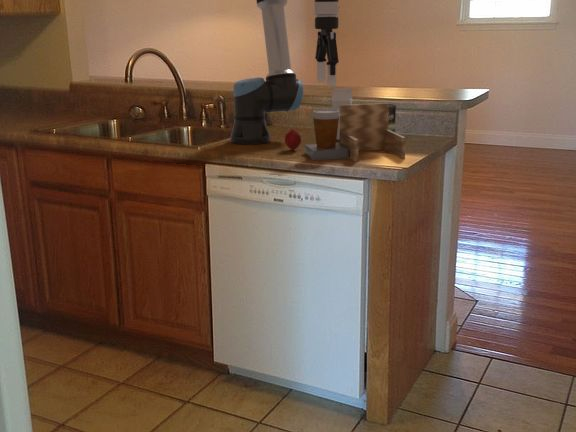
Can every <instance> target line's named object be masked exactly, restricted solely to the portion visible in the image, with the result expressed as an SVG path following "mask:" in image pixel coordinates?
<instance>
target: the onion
mask: <svg viewBox="0 0 576 432" xmlns="http://www.w3.org/2000/svg"><path fill="white" fill-rule="evenodd" d="M301 137H302V136H301V135H300V133H299V132H298V131H297V130H296V129H295V127H291V128H290V130H289V131H287V132H286V134H285V136H284V144H285V145H286V147H288V148H289V149H290V150H291V151H295V150H296V149H297V148H299V146H300V145H301V143H302V138H301Z"/></svg>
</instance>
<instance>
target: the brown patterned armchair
mask: <svg viewBox="0 0 576 432" xmlns="http://www.w3.org/2000/svg"><path fill="white" fill-rule="evenodd" d="M389 104H390V103H389V102H383V103H360V104H359V103H357V104H356V103H355V104H352V105H340V140H339V143H340V144H341V145H343V146H344V147H346V148H348V149H349V158H348V159H350V158H351V159H350V160H352V161H353V160H354V161H353V162H359V152H360V151H376V150H378V151H379V150H385V151H386V152H389V153H390V154H392V155H394V156H396V157H397V158H400V159H403V160H405V159H406V139H407V137H405V136H404V135H401V134H400V133H397V132H396V131H395V132H393V131H391V130H388V117H389Z"/></svg>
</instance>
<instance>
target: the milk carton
mask: <svg viewBox="0 0 576 432" xmlns="http://www.w3.org/2000/svg"><path fill="white" fill-rule="evenodd" d="M352 91H353V89H352V88H332V95H331V110H338V111H339V114H340V105H353V92H352ZM337 140H338V141H340V118H339V122H338V130H337V138H336V141H337Z"/></svg>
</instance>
